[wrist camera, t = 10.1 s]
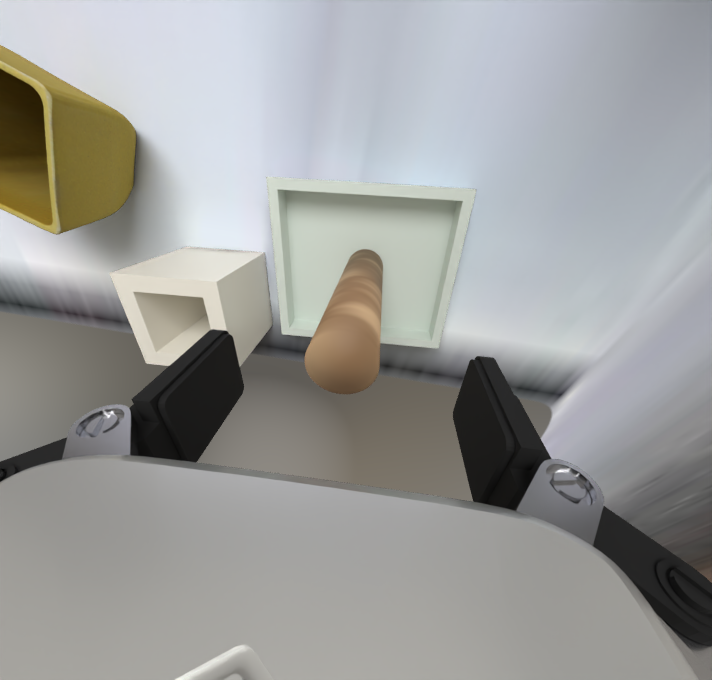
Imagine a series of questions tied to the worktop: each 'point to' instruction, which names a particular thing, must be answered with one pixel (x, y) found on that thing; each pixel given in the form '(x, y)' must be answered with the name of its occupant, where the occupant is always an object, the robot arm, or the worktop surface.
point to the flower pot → (59, 150)
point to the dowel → (350, 329)
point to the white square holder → (195, 300)
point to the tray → (374, 232)
